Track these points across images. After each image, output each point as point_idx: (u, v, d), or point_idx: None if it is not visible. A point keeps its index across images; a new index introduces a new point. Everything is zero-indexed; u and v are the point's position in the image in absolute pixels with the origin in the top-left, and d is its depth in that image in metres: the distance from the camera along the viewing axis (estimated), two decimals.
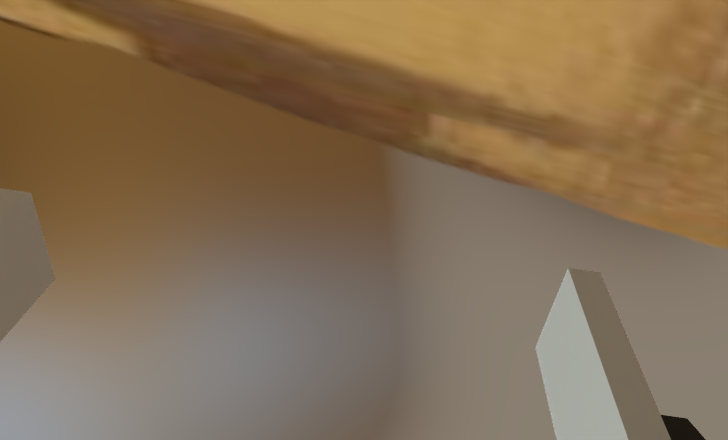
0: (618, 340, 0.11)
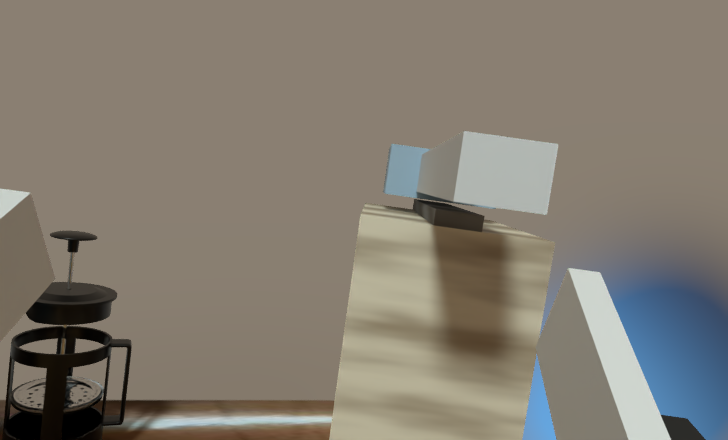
0: (618, 340, 0.11)
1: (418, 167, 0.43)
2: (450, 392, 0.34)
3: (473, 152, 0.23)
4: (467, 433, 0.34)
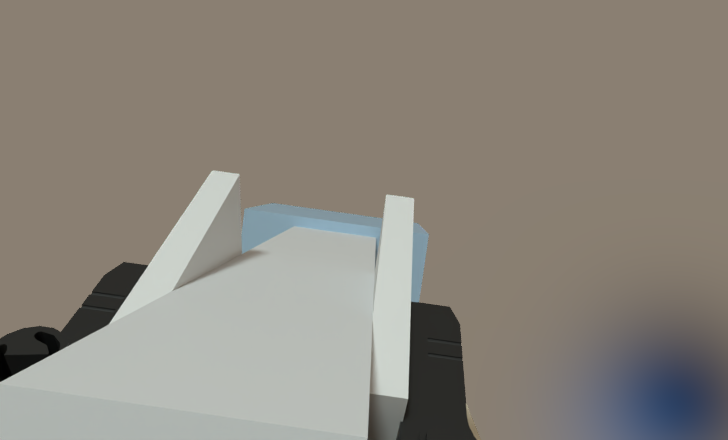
0: (402, 245, 0.13)
1: None
2: None
3: None
4: None
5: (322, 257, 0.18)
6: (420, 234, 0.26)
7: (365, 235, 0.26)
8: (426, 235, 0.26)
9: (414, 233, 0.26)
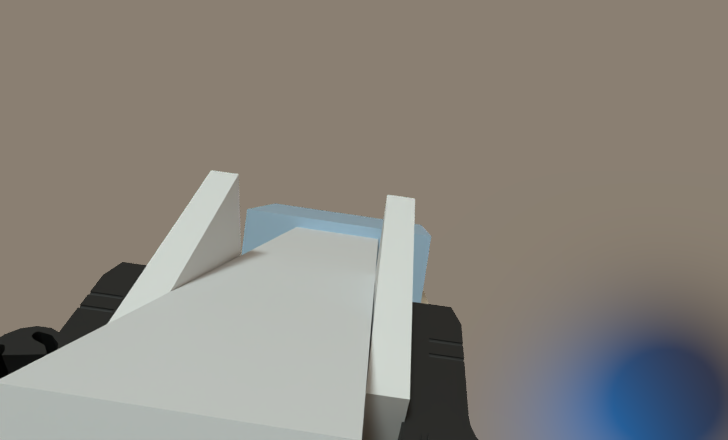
0: (404, 246, 0.13)
1: None
2: None
3: None
4: None
5: (323, 258, 0.18)
6: (422, 236, 0.26)
7: (367, 236, 0.26)
8: (428, 237, 0.26)
9: (416, 235, 0.26)
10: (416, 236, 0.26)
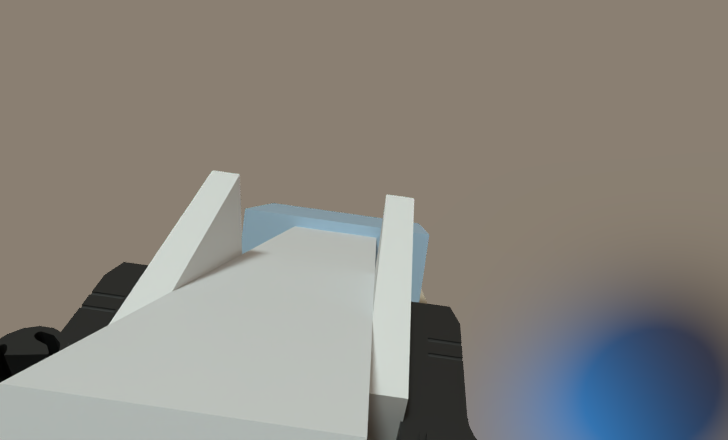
0: (403, 245, 0.13)
1: None
2: None
3: None
4: None
5: (322, 257, 0.18)
6: (420, 234, 0.26)
7: (365, 235, 0.26)
8: (426, 235, 0.26)
9: (414, 233, 0.26)
10: (414, 235, 0.26)
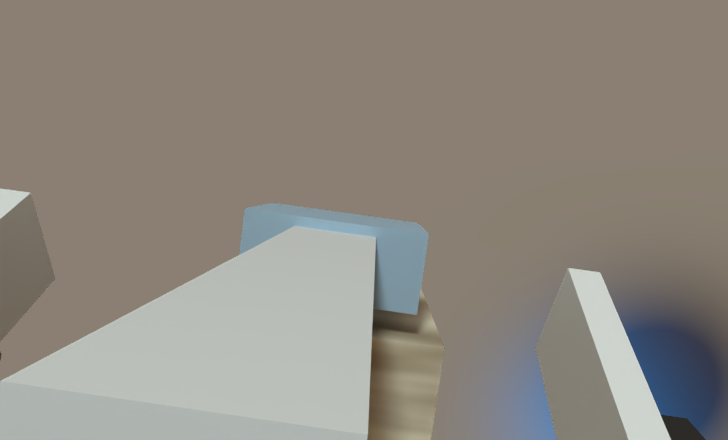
0: (618, 340, 0.11)
1: None
2: None
3: None
4: None
5: (322, 257, 0.18)
6: (420, 234, 0.26)
7: (365, 235, 0.26)
8: (426, 235, 0.26)
9: (414, 233, 0.26)
10: (414, 234, 0.26)
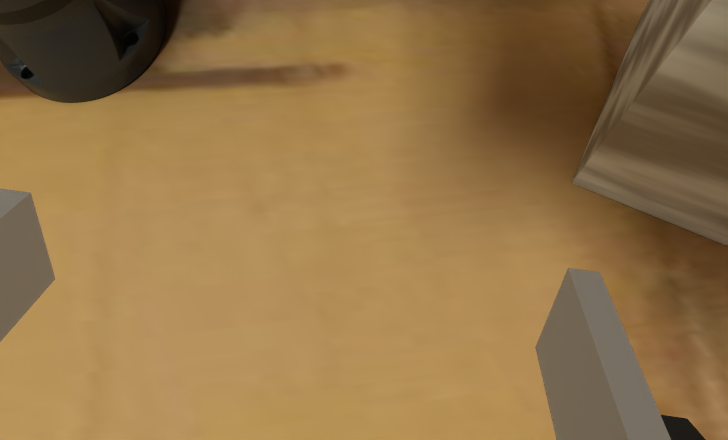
0: (618, 340, 0.11)
1: None
2: None
3: None
4: None
5: None
6: None
7: None
8: None
9: None
10: None
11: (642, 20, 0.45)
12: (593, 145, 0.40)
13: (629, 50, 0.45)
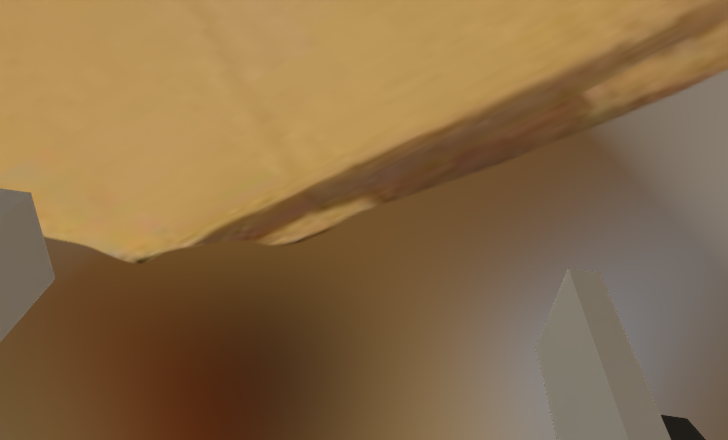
0: (618, 340, 0.11)
1: None
2: None
3: None
4: None
5: None
6: None
7: None
8: None
9: None
10: None
11: None
12: None
13: None
